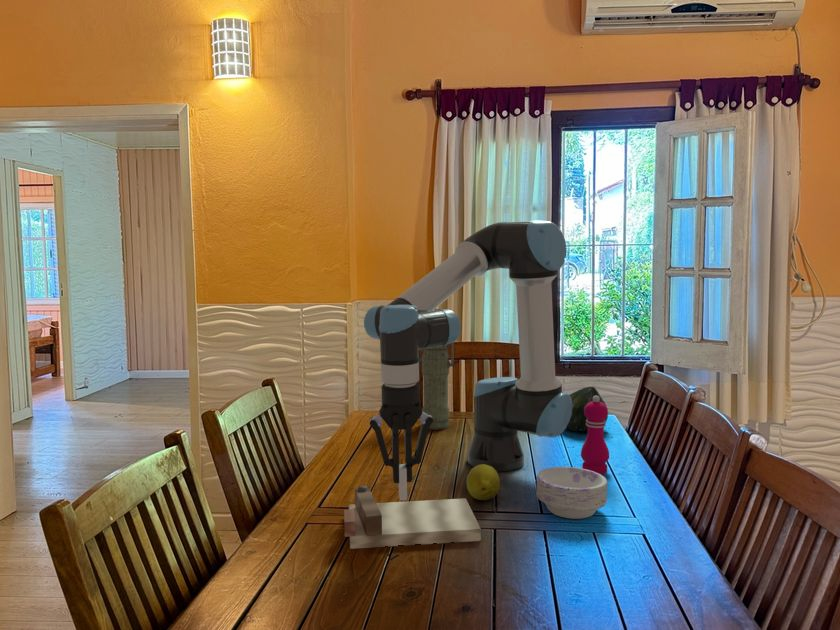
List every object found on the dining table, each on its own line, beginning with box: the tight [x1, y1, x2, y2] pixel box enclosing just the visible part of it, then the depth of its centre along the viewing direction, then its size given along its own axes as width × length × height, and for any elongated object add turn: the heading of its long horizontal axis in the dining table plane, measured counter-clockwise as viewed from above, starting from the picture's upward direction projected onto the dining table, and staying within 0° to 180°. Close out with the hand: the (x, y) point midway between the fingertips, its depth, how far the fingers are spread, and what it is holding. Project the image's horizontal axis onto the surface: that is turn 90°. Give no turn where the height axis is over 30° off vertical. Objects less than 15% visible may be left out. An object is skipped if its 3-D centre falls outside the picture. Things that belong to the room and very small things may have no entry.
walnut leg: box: [354, 485, 382, 536], centre depth 135 cm, size 16×3×5 cm, turn 14°
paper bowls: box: [536, 466, 608, 520], centre depth 146 cm, size 15×15×8 cm
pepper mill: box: [580, 396, 610, 476], centre depth 171 cm, size 7×7×20 cm
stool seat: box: [343, 497, 482, 550], centre depth 138 cm, size 27×16×6 cm, turn 97°
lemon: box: [465, 464, 501, 501], centre depth 152 cm, size 11×8×8 cm
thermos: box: [419, 342, 455, 431], centre depth 213 cm, size 9×12×35 cm
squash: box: [565, 386, 609, 432], centre depth 208 cm, size 14×15×15 cm
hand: (402, 497), depth 133 cm, fingers closed
